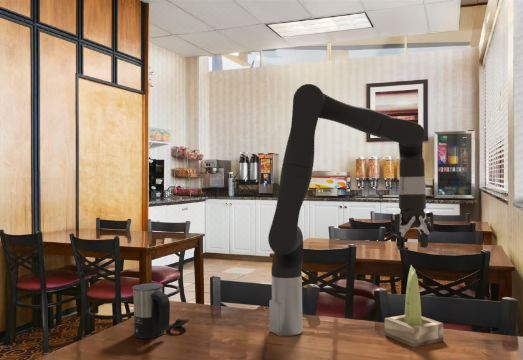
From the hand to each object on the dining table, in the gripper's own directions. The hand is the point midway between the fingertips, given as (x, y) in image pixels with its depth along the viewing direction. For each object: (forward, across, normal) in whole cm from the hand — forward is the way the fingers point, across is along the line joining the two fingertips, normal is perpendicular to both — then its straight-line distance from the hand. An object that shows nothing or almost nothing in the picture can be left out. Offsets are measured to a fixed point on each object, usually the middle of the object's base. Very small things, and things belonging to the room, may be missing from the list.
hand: (412, 248), depth 144 cm
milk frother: (+27, +63, -42) cm, 80 cm away
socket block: (+26, 0, 0) cm, 26 cm away
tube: (+25, 0, 0) cm, 25 cm away
